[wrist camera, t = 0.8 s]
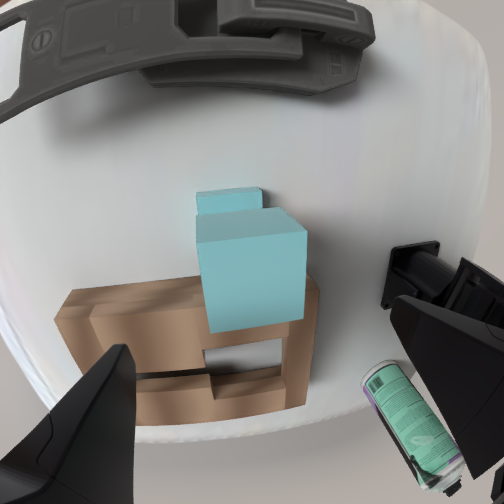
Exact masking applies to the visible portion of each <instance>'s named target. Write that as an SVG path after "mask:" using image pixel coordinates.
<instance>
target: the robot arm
mask: <svg viewBox="0 0 504 504" xmlns="http://www.w3.org/2000/svg"><path fill="white" fill-rule="evenodd" d="M439 247H440V243H439V242H437V241H429V242H423V243H417V244H410V245H404V246H398V247H394V248H393V249H392V251H391V255H390V261H389V267H388V272H387V278H386V283H385V288H384V293H383V297H382V302H381V307H382V308H383V309H384V310H387V309H390V308H392V310H391V314H390V321H391V323H392V325H393V327H394V329H395V331H396V333H397V335H398V337H399V339H400V341H401V343H402V345H403V347H404V349H405V351H406V353H407V355H408V357H409V359H410V360H411V362H412V363H413V365H414V367H415V368H416V370H417V372H418V373H419V375H420V377H421V378H422V380H423V382H424V383H425V385H426V387H427V389H428V391H429V392H430V394H431V396H432V398H433V399H434V401H435V403H436V405H437V407H438V408H439V410H440V412H441V414H442V416H443V418H444V419H445V421H446V423H447V425H448V427H449V429H450V431H451V433H452V435H453V437H454V438H455V441H456V443H457V445H458V447H459V449H460V452H461V454H462V456H463V458H464V460H465V462H466V464H467V467H468V469H469V471H470V473H471V476H472V477H473V479H474V480H475V479H476V478H478V477H479V476H480V475H482V474H483V473H484V472H485V471H487V470H488V469H490V468H491V467H492V466H493V465H495V464H496V463H497V462H498V461H499V460H501V459H502V458H503V457H504V283H503V282H502V281H501V280H499V279H498V278H497V277H495V276H494V275H492V274H491V273H489V272H488V271H486V270H484V269H483V268H481V267H480V266H478V265H476V264H474V263H472V262H471V261H469V260H467V259H465V258H463V257H462V258H461V261H460V265H459V267H458V269H457V270H456V269H455V268H453V267H452V266H450V265H449V264H447V263H446V262H444V261H443V260H441V259H439V258H438V252H439ZM396 252H397V253H396ZM136 410H137V402H136V364H135V361H134V359H133V357H132V354H131V352H130V350H129V348H128V346H127V344H125V343H120V344H113V345H112V346H111V347H110V348H109V349H108V350H107V351H106V352H105V353H104V354H103V356H102V357H101V358H100V359H99V360H98V361H97V362H96V363H95V364H94V365H93V366H92V367H91V368H90V369H89V370H88V371H87V372H86V373H85V374H84V375H83V376H82V377H81V378H80V380H79V381H78V382H77V383H76V384H75V385H74V386H73V387H72V388H71V389H70V390H69V391H68V392H67V393H66V394H65V396H64V397H63V398H62V399H61V400H60V401H59V402H58V403H57V404H56V405H55V406H54V407H53V409H52V410H51V411H50V413H48V414H47V415H46V416H45V417H44V418H43V419H42V421H41V422H40V423H39V424H38V425H37V426H36V427H35V428H34V429H33V430H32V431H31V432H30V433H29V434H28V435H27V436H26V437H25V438H24V439H23V440H22V441H21V442H20V443H19V444H18V445H16V446H15V447H14V448H13V449H12V450H11V451H10V452H9V453H8V454H7V455H6V456H5V457H4V458H2V459H1V460H0V504H134V503H133V467H134V466H133V465H134V441H135V425H136ZM491 499H492V500H493V504H504V463H503V464H502V465H501V466H500V467H499V469H497V470H496V472H495V477H494V483H493V488H492V493H491Z"/></svg>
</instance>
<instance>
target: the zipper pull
mask: <svg viewBox="0 0 504 504" xmlns="http://www.w3.org/2000/svg"><path fill="white" fill-rule="evenodd" d="M22 20H25V21H26V25H25V31H24V37H23V44H22V52H21V63H20V77H19V88H18V89H17V90H16V91H15V92H14V94H13V95H12V96H11V98H9V99H7V100H5V101H3V102H1V103H0V124H1V123H3V122H5V121H7V120H8V119H10V118H12V117H14V116H16V115H18V114H19V113H21V112H23V111H25V110H26V109H28V108H30V107H32V106H34V105H36V104H39V103H41V102H43V101H45V100H47V99H50V98H52V97H54V96H57V95H59V94H62V93H64V92H67V91H69V90H72V89H74V88H77V87H80V86H83V85H85V84H88V83H91V82H94V81H97V80H100V79H104V78H107V77H110V76H114V75H117V74H121V73H125V72H128V71H132V70H136V69H139V70H140V72H141V73H142V74H143V76H144V77H145V78H146V80H147V81H148V82H149V83H150V84H151V85H152V86H153V87H156V88H160V87H185V86H218V87H242V88H256V89H267V90H275V91H283V92H290V93H296V94H302V95H309V96H310V95H314V94H317V93H321V92H324V91H327V90H330V89H333V88H336V87H339V86H342V85H345V84H348V83H351V82H354V81H355V80H356V77H357V73H358V69H359V65H360V61H361V56H362V52H363V50H364V49H365V48H366V47H368V46H369V45H371V44H372V43H373V42H374V41H375V38H376V37H375V31H374V25H373V19H372V14H371V13H370V12H369V11H368V10H367V9H366V8H365V7H363V6H360V5H356V4H353V3H349V2H347V0H33V1H30V2H27V3H24V4H22V5H19V6H17V7H15V8H13V9H10V10H8V11H6V12H4V13H2V14H0V31H2V30H4V29H6V28H8V27H10V26H12V25H14V24H16V23H18V22H20V21H22Z"/></svg>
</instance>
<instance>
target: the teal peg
mask: <svg viewBox="0 0 504 504" xmlns="http://www.w3.org/2000/svg"><path fill="white" fill-rule="evenodd" d="M196 200H197V209H198V215H197V216H196V245H197V252H198V260H199V267H200V273H201V280H202V286H203V293H204V299H205V305H206V311H207V317H208V323H209V328H210V334H211V333H218V332H226V331H233V330H240V329H246V328H253V327H259V326H265V325H271V324H277V323H283V322H288V321H293V320H299V319H303V316H304V301H305V283H306V261H307V230H306V229H305V228H304V227H303V226H302V225H300V224H299V223H298V222H297V221H296V220H295V219H294V218H293V217H291V216H290V215H289V214H288V213H287V212H286V211H285V210H283V209H282V208H281V207H274V208H263V205H262V191H261V190H260V189H259V188H258V187H247V188H236V189H225V190H215V191H206V192H197V193H196Z"/></svg>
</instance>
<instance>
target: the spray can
mask: <svg viewBox="0 0 504 504" xmlns="http://www.w3.org/2000/svg"><path fill="white" fill-rule="evenodd" d="M361 387H362V389H363V391H364V393H365V394H366V396H367V398H368V399H369V401H370V403H371V404H372V406H373V407H374V409H375V411H376V412H377V414H378V416H379V417H380V419H381V421H382V422H383V424H384V426H385V427H386V429H387V430H388V432H389V434H390V436H391V437H392V439H393V441H394V442H395V444H396V446H397V447H398V449H399V451H400V452H401V454H402V456H403V458H404V459H405V461H406V463H407V464H408V466H409V468H410V469H411V471H412V473H413V475H414V477H415V478H416V480H417V482H418V483H419V485H420V487H421V488H423V489H424V492H427V491H428V492H432V491H439V493H441V492H442V491H443V493H446V495H447V496H448V497H450V496H452V495H453V494H454V493H455V492H456V491H458V490H459V489H460V488H461V483H460V481H461V479H460V478H461V477H462V476H461V475H460V474H461V473H462V471H463V469H464V466H465V464H466V462H465V460H464V458H463V456H462V454H461V452H460V449H459V447H458V446H457V444H456V443H455V442H454V440H453V439H452V437H451V436H450V435H449V433H448V432H447V430H446V429H445V428H444V426H443V425H442V423H441V422H440V420H439V419H438V418H437V416H436V415H435V414H434V412H433V411H432V410H431V408H430V407H429V405H428V404H427V403H426V401H425V400H424V399H423V397H422V396H421V395H420V393H419V392H418V391H417V389H416V388H415V387H414V385H413V384H412V383H411V381H410V380H409V379H408V378H407V376H406V375H405V374H404V372H403V371H402V370H401V369H400V367H399V366H398V365H397V363H396V362H395V361H393V360H387V361H384V362H381V363H379V364H378V365H376V366H375V367H373V368H372V369H371V370H370V371H369V372H368V373H367V374H366V375H365V376H364V378H363V379H362V381H361Z"/></svg>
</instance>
